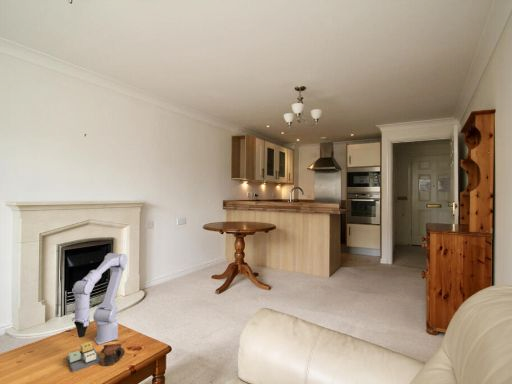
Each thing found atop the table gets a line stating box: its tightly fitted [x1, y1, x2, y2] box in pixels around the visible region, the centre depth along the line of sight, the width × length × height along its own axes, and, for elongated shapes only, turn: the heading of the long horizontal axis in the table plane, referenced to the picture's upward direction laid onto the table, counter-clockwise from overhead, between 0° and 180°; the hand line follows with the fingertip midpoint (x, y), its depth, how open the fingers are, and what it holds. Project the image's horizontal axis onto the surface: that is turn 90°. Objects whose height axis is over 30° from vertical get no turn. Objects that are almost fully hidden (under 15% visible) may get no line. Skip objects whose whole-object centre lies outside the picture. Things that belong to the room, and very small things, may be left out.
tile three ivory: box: [84, 351, 96, 362], centre depth 124 cm, size 4×4×2 cm
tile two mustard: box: [80, 341, 94, 353], centre depth 130 cm, size 4×4×2 cm
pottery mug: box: [100, 343, 126, 367], centre depth 127 cm, size 12×10×8 cm
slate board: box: [65, 347, 102, 373], centre depth 126 cm, size 11×13×1 cm
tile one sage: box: [67, 349, 81, 363], centre depth 124 cm, size 4×4×2 cm
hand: (81, 336), depth 129 cm, fingers closed
